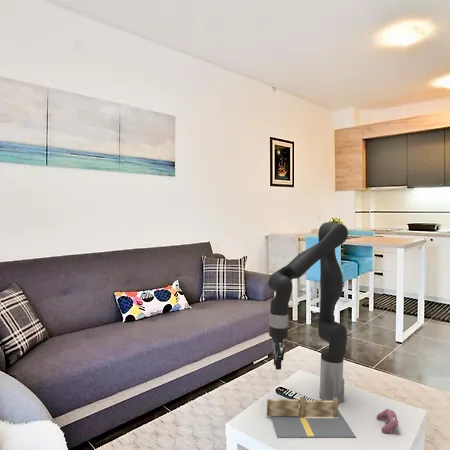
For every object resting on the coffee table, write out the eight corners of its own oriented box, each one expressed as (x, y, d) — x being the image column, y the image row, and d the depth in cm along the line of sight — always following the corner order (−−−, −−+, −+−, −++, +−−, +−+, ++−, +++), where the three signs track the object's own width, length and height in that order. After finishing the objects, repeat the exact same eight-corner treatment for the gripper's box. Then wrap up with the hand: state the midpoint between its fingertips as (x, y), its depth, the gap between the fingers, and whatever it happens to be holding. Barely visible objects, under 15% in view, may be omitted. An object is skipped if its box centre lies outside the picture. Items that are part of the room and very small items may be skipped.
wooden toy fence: (336, 415, 141) (337, 397, 141) (338, 419, 139) (339, 400, 138) (298, 415, 140) (299, 396, 140) (299, 419, 138) (300, 399, 138)
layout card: (337, 408, 146) (337, 407, 146) (355, 437, 127) (355, 436, 127) (268, 408, 145) (268, 407, 145) (277, 437, 126) (277, 436, 126)
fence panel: (297, 414, 140) (298, 399, 139) (298, 416, 138) (299, 401, 138) (266, 414, 139) (267, 399, 139) (267, 416, 138) (267, 400, 138)
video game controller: (392, 439, 130) (402, 423, 129) (380, 432, 130) (390, 416, 130) (386, 423, 139) (395, 408, 139) (375, 416, 140) (384, 402, 139)
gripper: (292, 330, 137) (290, 375, 137) (284, 319, 151) (283, 360, 151) (272, 330, 136) (271, 375, 137) (266, 319, 150) (265, 359, 151)
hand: (277, 366), depth 144 cm, fingers open, 3 cm apart
